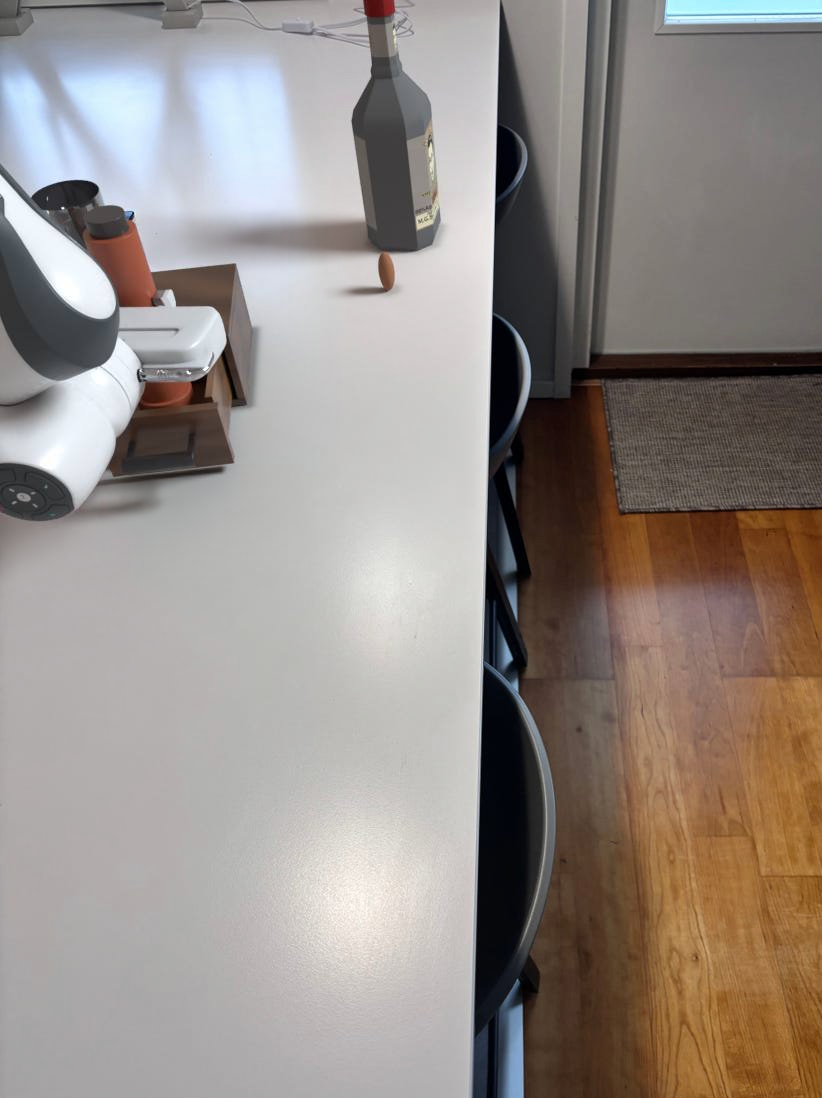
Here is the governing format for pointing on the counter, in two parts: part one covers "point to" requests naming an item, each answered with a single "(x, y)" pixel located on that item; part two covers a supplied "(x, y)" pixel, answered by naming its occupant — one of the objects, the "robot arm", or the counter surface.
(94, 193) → the wine glass
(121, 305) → the pepper mill
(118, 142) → the counter surface
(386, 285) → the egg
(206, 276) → the cabinet
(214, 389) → the drawer
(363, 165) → the liquor
